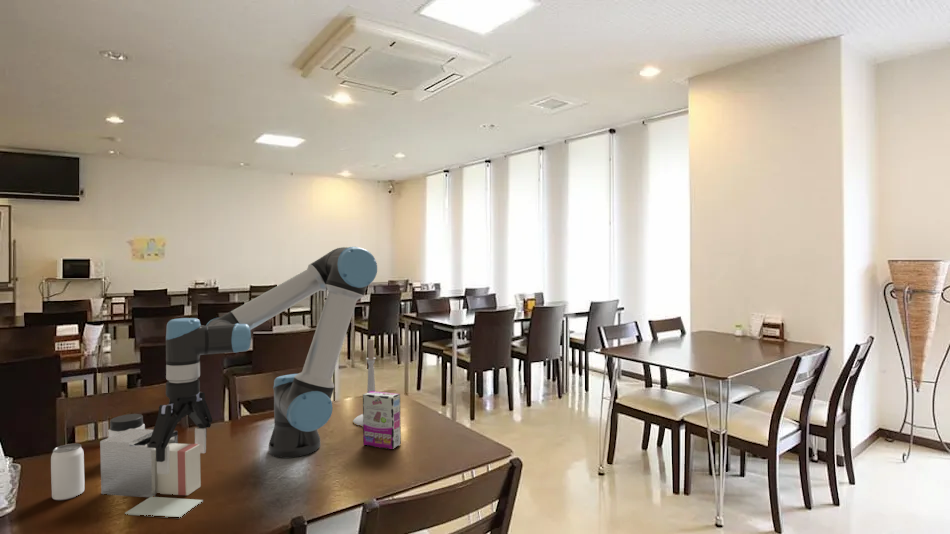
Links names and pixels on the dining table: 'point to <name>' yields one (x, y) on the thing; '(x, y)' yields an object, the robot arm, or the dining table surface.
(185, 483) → the pink-banded white block
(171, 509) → the pad
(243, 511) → the dining table surface
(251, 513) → the dining table surface
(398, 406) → the candy bar box
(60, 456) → the can
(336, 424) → the dining table surface
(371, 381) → the candlestick
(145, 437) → the dispenser
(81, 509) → the dining table surface
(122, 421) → the jar
